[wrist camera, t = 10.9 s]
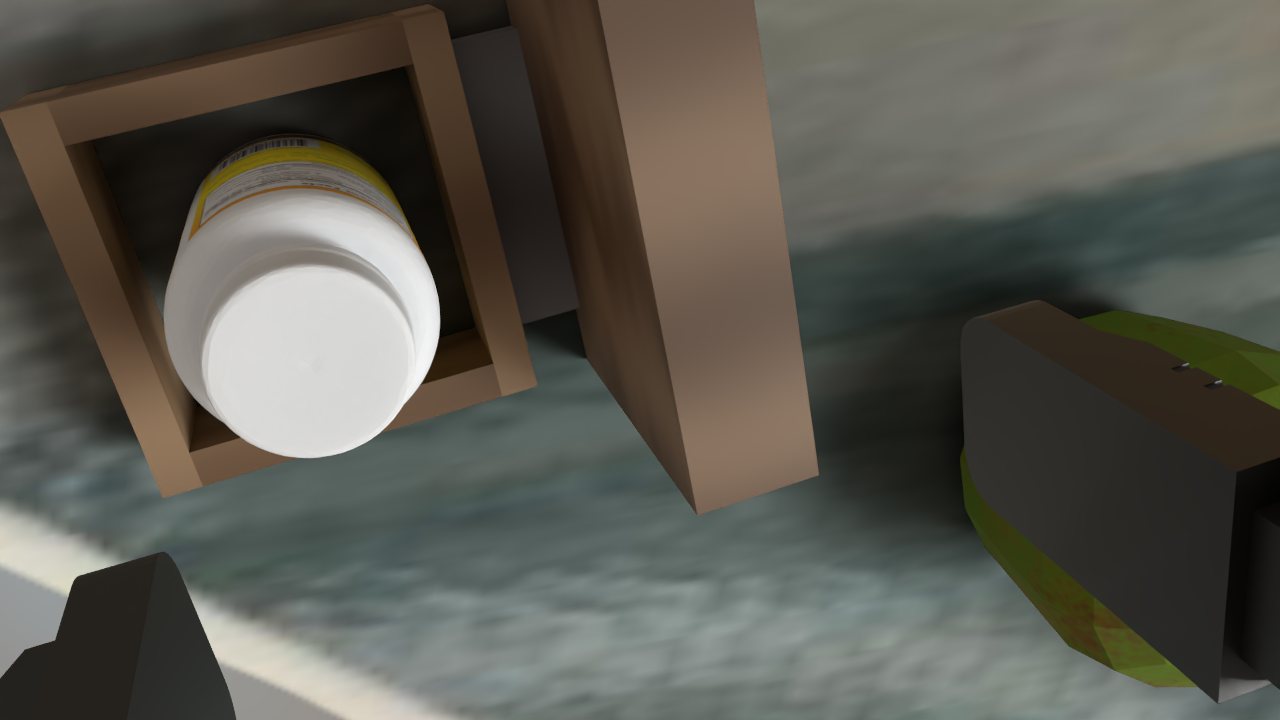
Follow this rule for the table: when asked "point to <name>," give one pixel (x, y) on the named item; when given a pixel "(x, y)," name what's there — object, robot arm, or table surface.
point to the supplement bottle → (300, 298)
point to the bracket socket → (505, 223)
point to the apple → (1052, 587)
